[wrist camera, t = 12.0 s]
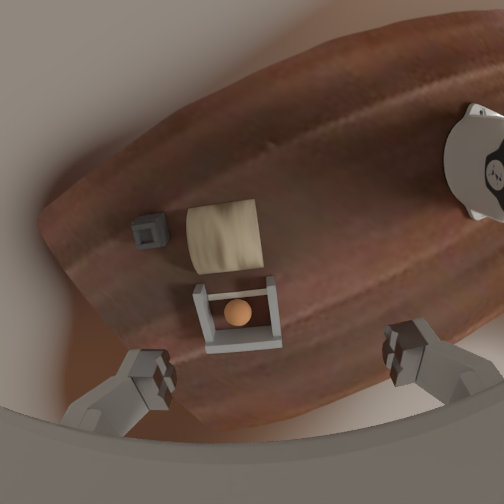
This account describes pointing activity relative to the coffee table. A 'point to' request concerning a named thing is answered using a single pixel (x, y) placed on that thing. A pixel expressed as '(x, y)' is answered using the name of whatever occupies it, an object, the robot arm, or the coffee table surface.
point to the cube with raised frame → (150, 231)
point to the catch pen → (241, 336)
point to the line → (237, 294)
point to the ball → (237, 312)
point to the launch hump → (224, 237)
